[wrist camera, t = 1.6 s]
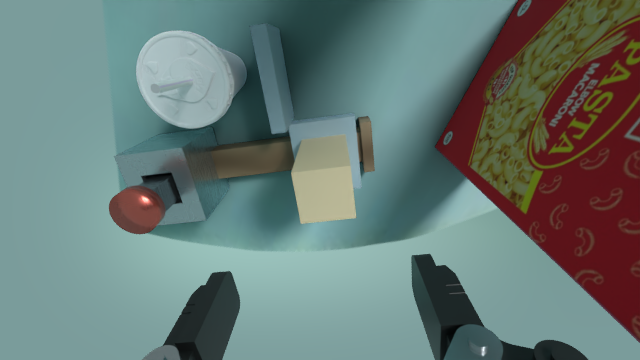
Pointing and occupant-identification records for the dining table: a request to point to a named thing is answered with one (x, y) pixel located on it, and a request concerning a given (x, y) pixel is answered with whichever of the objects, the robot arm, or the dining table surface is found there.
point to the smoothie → (188, 78)
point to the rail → (278, 154)
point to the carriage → (309, 139)
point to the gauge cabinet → (179, 171)
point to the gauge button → (144, 203)
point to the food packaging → (563, 140)
